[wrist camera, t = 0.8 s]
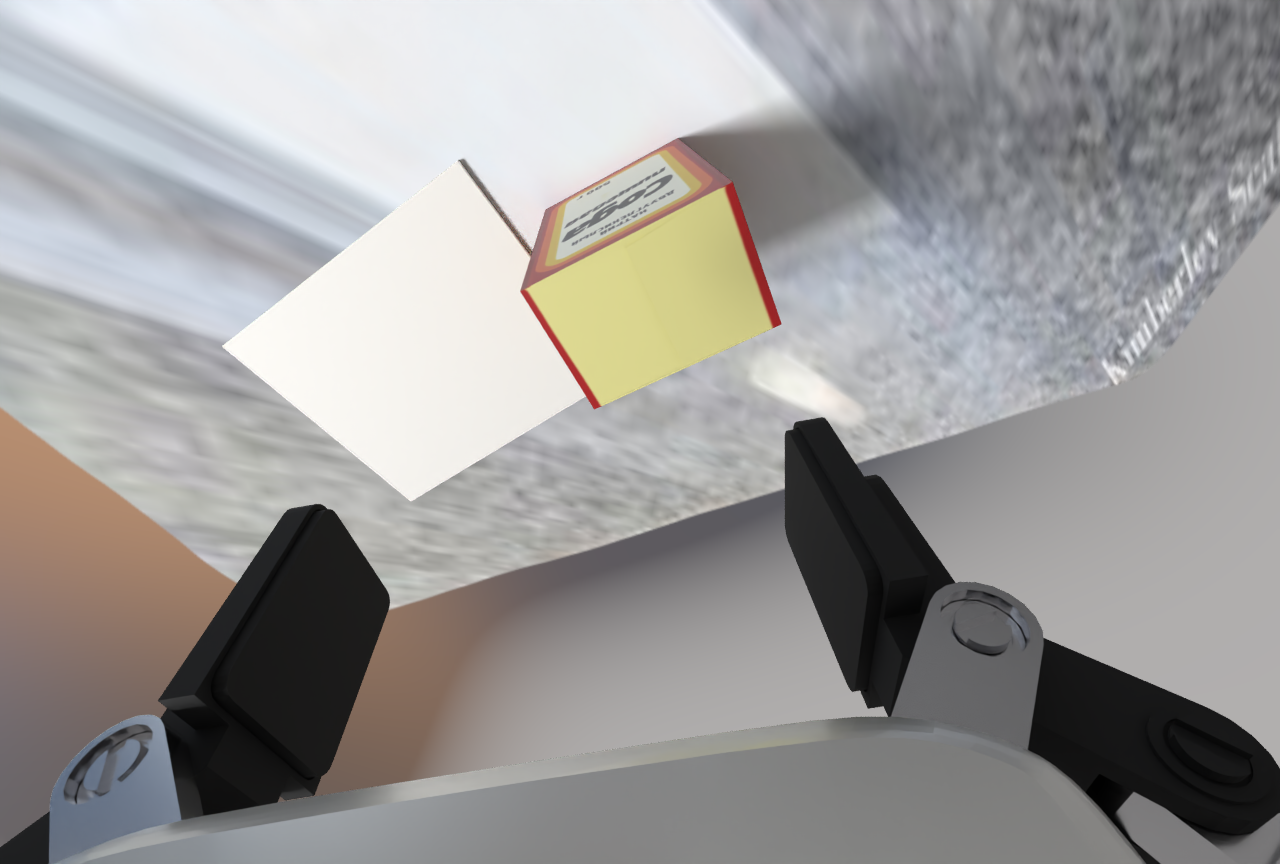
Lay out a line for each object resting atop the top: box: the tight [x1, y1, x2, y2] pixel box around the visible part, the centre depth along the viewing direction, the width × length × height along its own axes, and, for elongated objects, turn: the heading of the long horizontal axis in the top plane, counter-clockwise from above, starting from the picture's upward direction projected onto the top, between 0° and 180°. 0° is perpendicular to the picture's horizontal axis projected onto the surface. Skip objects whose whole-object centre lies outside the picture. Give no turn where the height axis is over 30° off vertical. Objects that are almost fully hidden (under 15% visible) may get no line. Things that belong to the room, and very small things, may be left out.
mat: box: [222, 160, 586, 501], centre depth 40 cm, size 22×18×1 cm
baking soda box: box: [520, 138, 781, 409], centre depth 30 cm, size 10×6×16 cm
